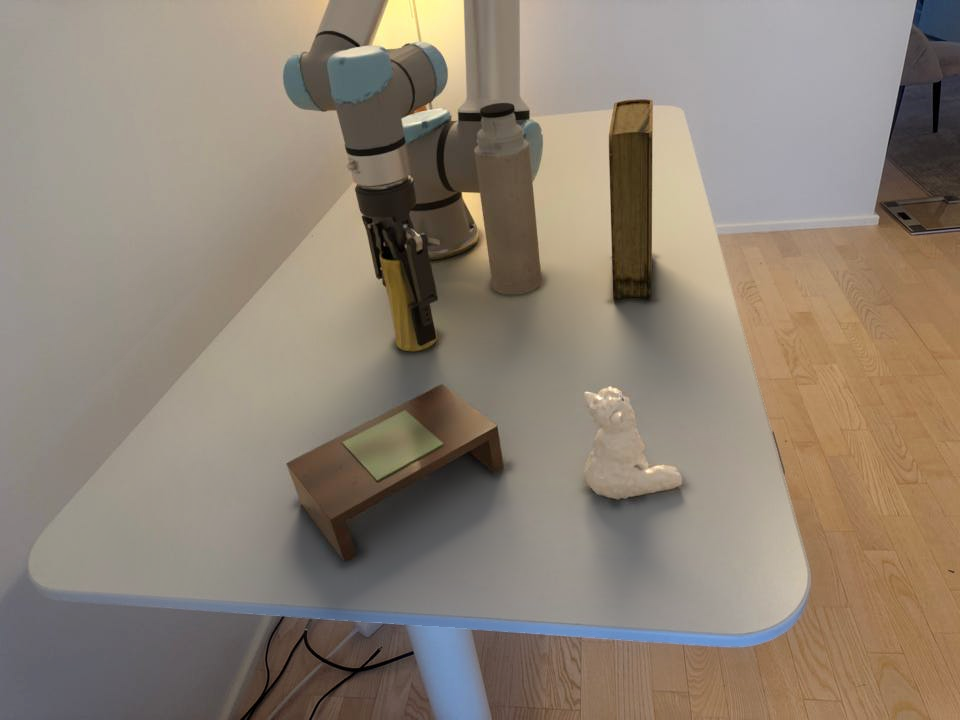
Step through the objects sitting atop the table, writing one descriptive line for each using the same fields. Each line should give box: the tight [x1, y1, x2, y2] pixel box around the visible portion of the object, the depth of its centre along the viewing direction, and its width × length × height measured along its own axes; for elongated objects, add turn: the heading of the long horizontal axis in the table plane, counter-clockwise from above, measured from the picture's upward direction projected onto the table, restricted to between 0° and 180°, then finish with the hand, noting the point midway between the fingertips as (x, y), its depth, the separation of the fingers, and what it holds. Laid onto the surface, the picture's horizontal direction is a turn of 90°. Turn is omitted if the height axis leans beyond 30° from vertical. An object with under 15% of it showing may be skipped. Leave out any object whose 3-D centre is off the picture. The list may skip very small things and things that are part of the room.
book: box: [608, 98, 654, 301], centre depth 106 cm, size 16×6×25 cm, turn 168°
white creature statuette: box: [583, 385, 683, 501], centre depth 72 cm, size 10×9×12 cm
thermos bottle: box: [474, 103, 542, 296], centre depth 108 cm, size 8×8×28 cm
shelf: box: [286, 383, 505, 563], centre depth 78 cm, size 11×20×6 cm, turn 126°
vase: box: [380, 248, 438, 352], centre depth 101 cm, size 6×6×14 cm
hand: (415, 332), depth 104 cm, fingers closed on vase, 6 cm apart
